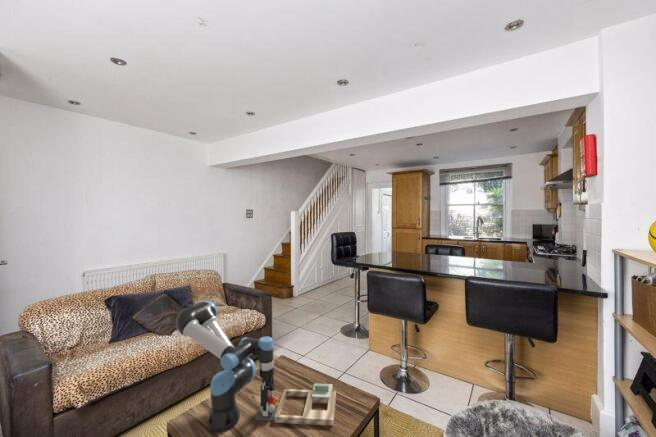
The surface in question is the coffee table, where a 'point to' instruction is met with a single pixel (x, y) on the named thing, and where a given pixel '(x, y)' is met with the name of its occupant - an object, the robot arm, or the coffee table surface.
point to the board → (308, 409)
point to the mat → (268, 418)
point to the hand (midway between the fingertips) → (268, 408)
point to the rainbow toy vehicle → (271, 404)
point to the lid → (321, 391)
